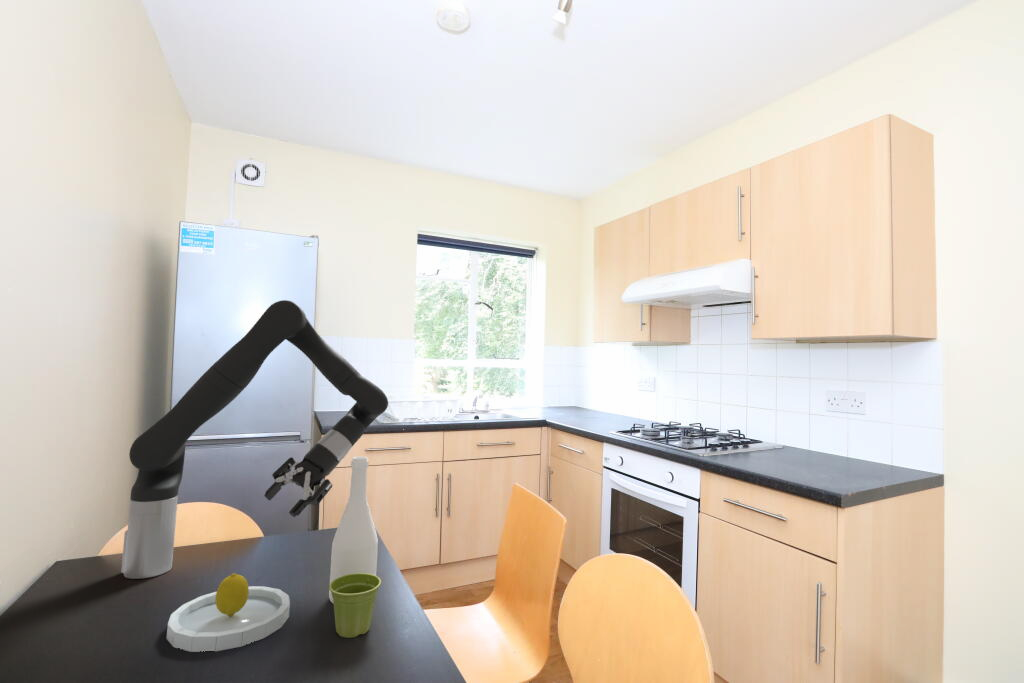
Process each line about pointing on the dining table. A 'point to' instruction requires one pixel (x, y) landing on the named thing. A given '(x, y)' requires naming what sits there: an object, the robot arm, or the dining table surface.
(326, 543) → the dining table surface
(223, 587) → the lemon
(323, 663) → the dining table surface
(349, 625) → the plant pot
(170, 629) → the dish
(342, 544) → the wine bottle
